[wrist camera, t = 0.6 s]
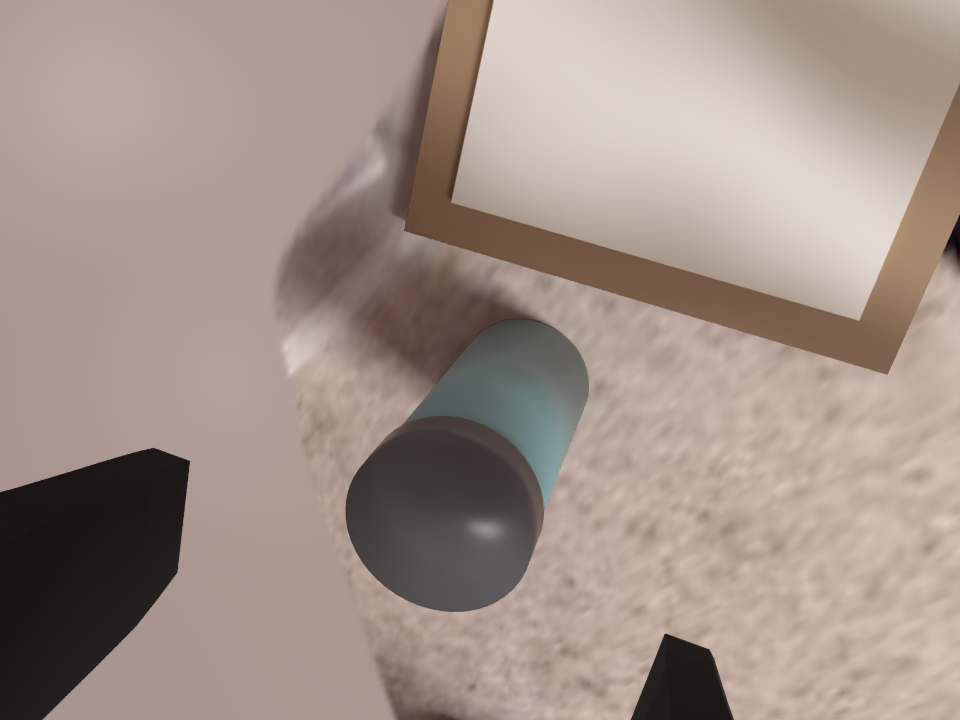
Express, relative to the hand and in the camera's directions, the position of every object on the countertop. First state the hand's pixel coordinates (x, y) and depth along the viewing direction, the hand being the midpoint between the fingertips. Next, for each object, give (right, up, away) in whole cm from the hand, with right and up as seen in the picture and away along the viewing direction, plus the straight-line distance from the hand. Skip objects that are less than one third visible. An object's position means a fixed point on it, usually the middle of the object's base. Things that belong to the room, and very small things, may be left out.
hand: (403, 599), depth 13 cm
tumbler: (+2, +3, +9) cm, 10 cm away
